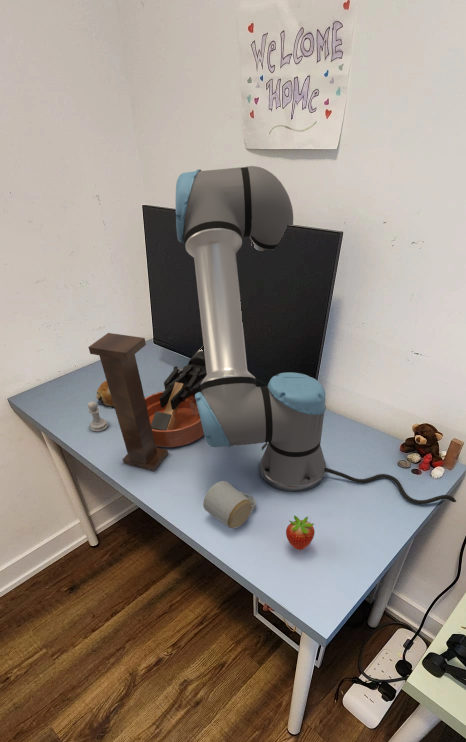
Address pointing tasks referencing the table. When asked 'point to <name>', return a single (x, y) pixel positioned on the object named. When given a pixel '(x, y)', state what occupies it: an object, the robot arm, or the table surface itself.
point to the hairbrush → (167, 413)
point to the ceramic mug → (228, 504)
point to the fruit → (300, 533)
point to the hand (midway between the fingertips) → (166, 404)
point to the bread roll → (104, 394)
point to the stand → (129, 398)
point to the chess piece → (96, 418)
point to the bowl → (186, 424)
